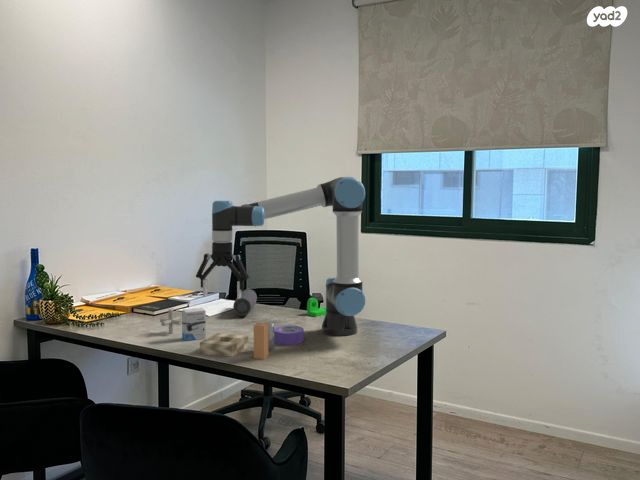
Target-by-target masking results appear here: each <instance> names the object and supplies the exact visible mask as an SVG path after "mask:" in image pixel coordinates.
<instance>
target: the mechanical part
mask: <svg viewBox="0 0 640 480" xmlns="http://www.w3.org/2000/svg"><path fill="white" fill-rule="evenodd" d="M325 314H326V306H324V307H319V301H318V299H317V298H315V297H310V298H308V300H307V303H306V315H307V316H309V315H311V317H314V316H315V317H314V318H318V317H322V316H321V315H323V316H325ZM317 316H318V317H317Z"/></svg>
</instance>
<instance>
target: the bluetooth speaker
mask: <svg viewBox="0 0 640 480" xmlns="http://www.w3.org/2000/svg"><path fill="white" fill-rule="evenodd" d="M257 300H258V296H257V293H256V291H255V290H253V289H251V288H247V289H243V290H241V298H240V299H237V297H236V298H235V300H234V302H233V306H232V308H233V310H234V311H233V312H234V313H235V314H236V315H238V316H247V315H249V313H250V312H252V310H253V309H254V307H255V306H256V303H257Z"/></svg>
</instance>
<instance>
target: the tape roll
mask: <svg viewBox="0 0 640 480" xmlns="http://www.w3.org/2000/svg"><path fill="white" fill-rule="evenodd" d="M304 329H305V328H303V327H302V326H298V325H291V324H290V325H288V324H287V325H280V326H277V327H276V326H275V327H274V344H277V345H281V346H295V345H300V344H302V343H304V341H305V339H304V336H305V335H304V332H305V331H304Z"/></svg>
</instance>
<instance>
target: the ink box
mask: <svg viewBox="0 0 640 480" xmlns="http://www.w3.org/2000/svg"><path fill="white" fill-rule="evenodd" d="M206 312H207V311H206V310H205V308H203V307H197V308H184V309H181V321H182V325H181V337H182V339H183V340H184V341H185V342H188V341H197V340H206V339H207V333H206V332H207V329H206V327H207V326H206V321H207V320H206V319H207V318H206V314H207V313H206Z"/></svg>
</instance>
